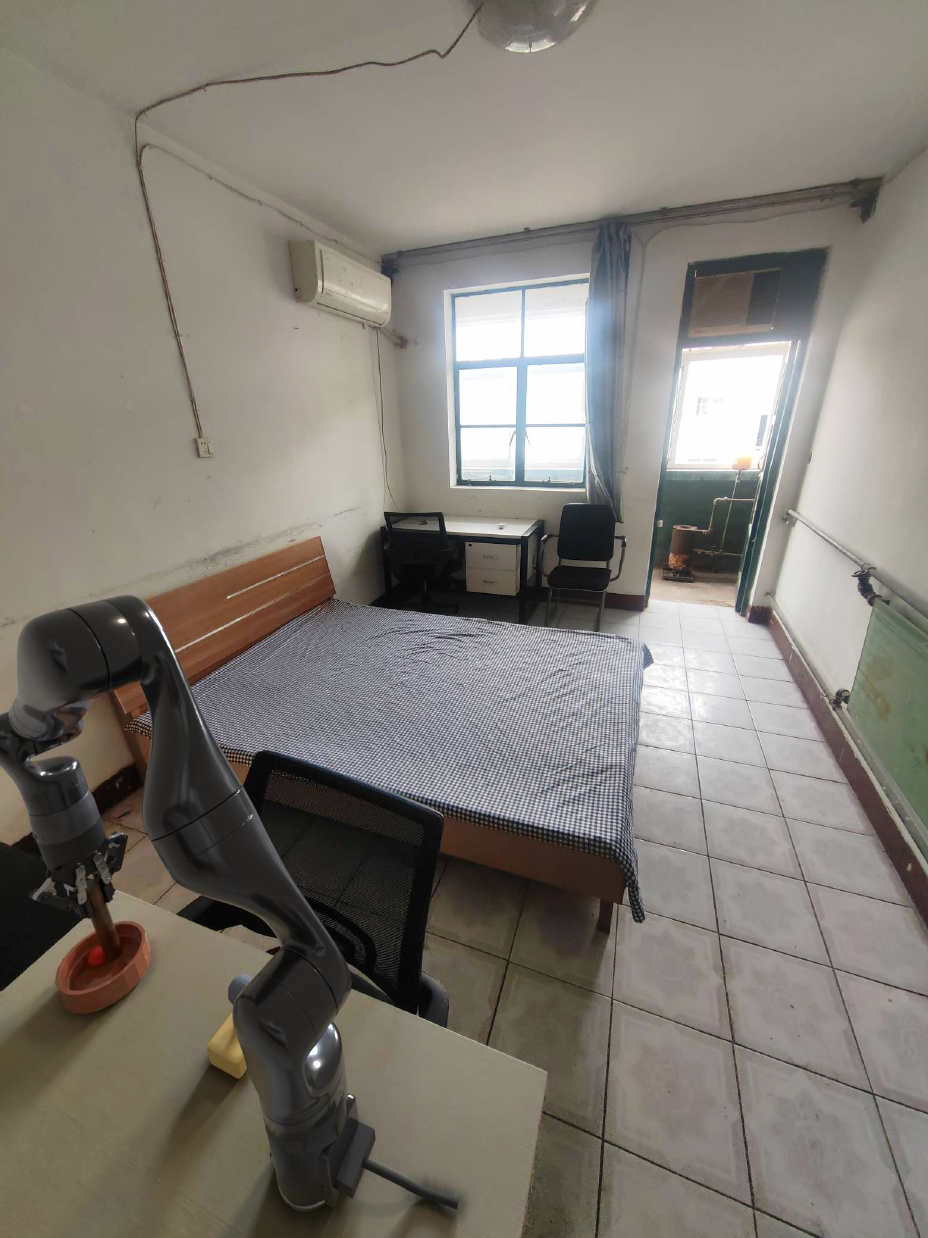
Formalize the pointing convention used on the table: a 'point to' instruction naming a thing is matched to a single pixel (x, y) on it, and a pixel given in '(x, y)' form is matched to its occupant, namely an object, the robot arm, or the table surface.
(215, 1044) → the rubber stamp
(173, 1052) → the table surface
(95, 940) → the bowl
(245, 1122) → the table surface
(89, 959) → the ball
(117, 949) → the stick
